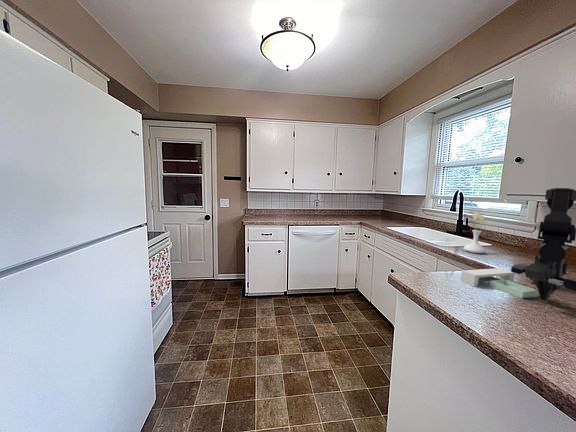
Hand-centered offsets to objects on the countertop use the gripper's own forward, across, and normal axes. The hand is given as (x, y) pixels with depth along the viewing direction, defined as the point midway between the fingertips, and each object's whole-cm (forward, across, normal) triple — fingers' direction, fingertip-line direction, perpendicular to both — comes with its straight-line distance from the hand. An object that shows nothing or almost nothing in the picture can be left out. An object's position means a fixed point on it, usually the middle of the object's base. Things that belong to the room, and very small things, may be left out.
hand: (543, 300), depth 85 cm
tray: (+1, -9, 0) cm, 9 cm away
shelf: (+1, -19, 0) cm, 19 cm away
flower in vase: (+1, -61, +48) cm, 78 cm away
